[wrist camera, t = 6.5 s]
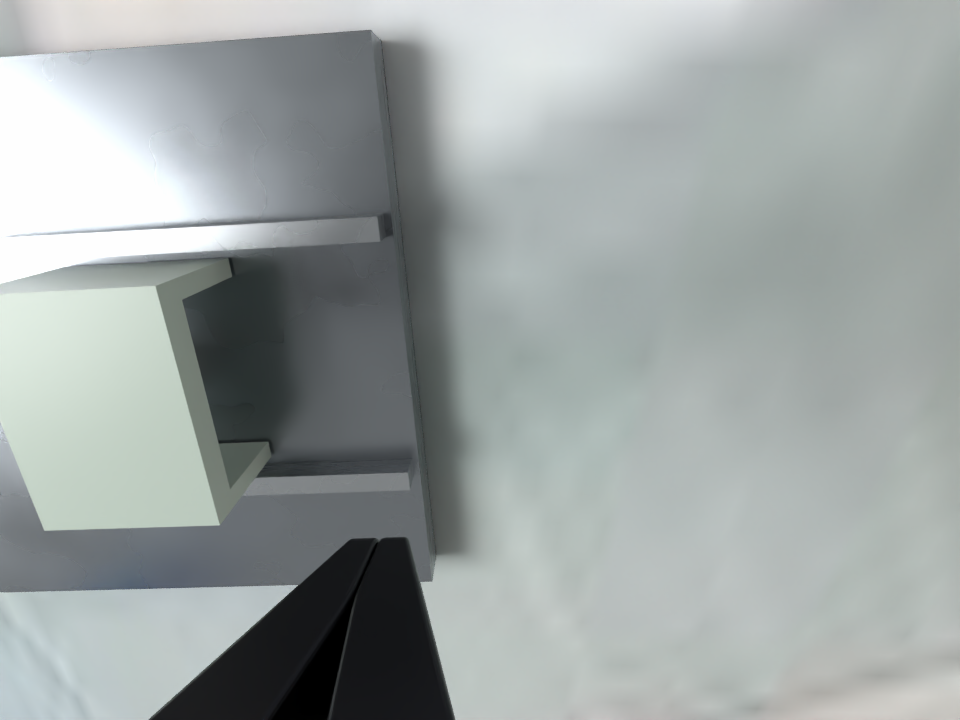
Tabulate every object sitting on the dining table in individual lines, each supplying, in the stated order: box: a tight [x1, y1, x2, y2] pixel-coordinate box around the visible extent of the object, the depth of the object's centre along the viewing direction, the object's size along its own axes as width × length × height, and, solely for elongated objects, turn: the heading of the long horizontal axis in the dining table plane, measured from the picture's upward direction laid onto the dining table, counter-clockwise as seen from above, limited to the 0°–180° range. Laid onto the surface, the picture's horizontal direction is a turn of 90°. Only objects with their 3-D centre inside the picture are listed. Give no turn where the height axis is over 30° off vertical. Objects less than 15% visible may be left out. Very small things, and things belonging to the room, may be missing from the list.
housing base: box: [0, 30, 436, 592], centre depth 15 cm, size 15×16×5 cm
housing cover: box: [0, 258, 271, 531], centre depth 14 cm, size 4×6×3 cm
